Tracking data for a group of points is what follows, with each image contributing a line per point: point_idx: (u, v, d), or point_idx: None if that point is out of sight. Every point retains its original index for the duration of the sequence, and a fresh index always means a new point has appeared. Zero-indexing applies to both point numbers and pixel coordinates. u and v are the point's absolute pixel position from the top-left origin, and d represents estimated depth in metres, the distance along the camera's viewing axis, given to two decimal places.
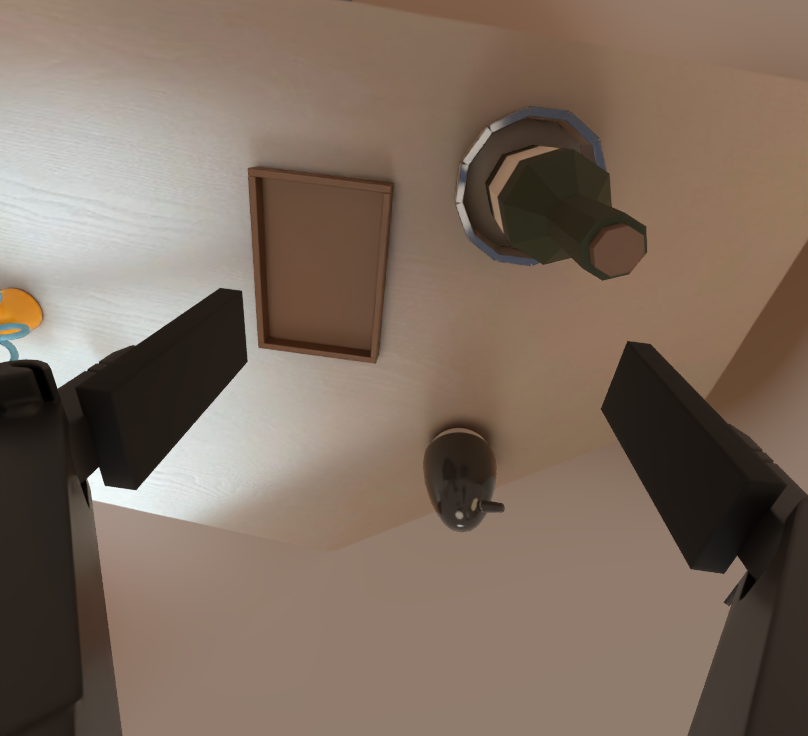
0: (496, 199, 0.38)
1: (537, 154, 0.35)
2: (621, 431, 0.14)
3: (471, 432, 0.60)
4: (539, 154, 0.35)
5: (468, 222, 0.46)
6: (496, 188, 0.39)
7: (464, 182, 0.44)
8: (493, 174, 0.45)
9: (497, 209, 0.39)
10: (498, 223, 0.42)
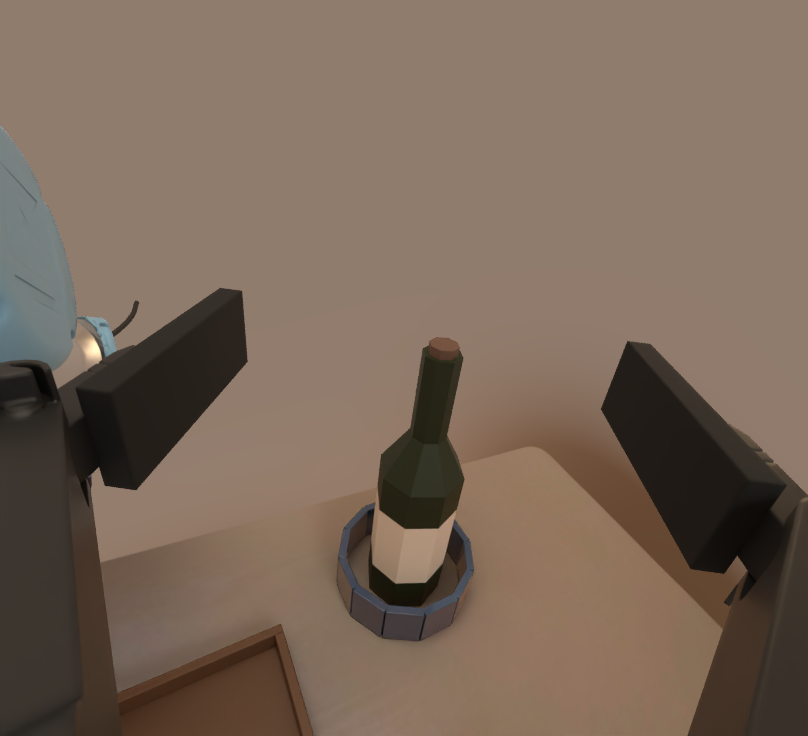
0: (380, 521, 0.42)
1: None
2: (620, 431, 0.14)
3: None
4: None
5: (375, 597, 0.43)
6: (376, 526, 0.44)
7: (350, 570, 0.45)
8: (370, 565, 0.48)
9: (387, 533, 0.42)
10: (398, 556, 0.43)
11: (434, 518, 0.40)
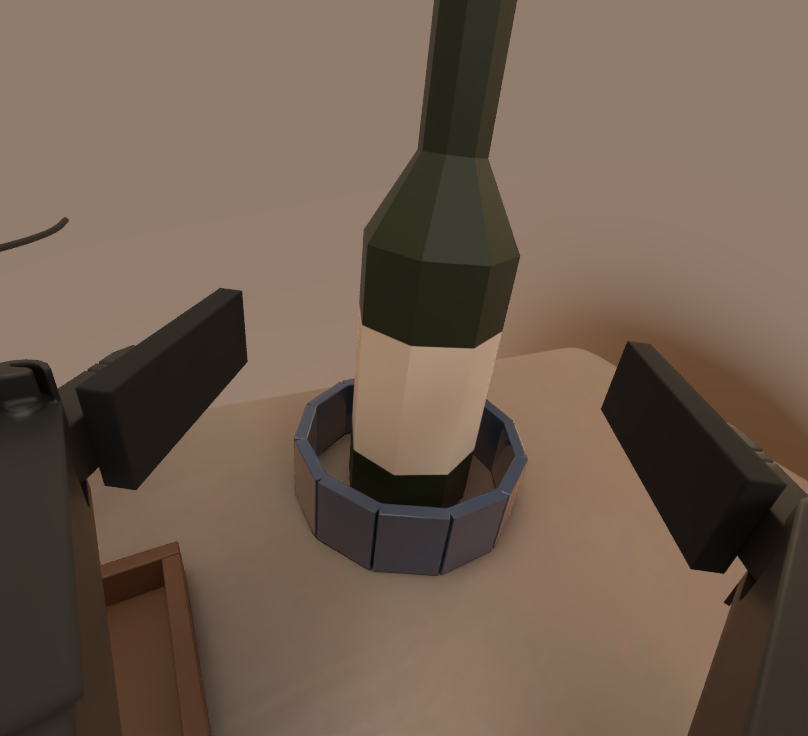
0: (365, 350, 0.23)
1: None
2: (620, 430, 0.14)
3: None
4: None
5: (357, 492, 0.23)
6: (358, 370, 0.24)
7: (313, 455, 0.25)
8: (351, 459, 0.29)
9: (378, 371, 0.23)
10: (398, 415, 0.23)
11: (466, 321, 0.21)
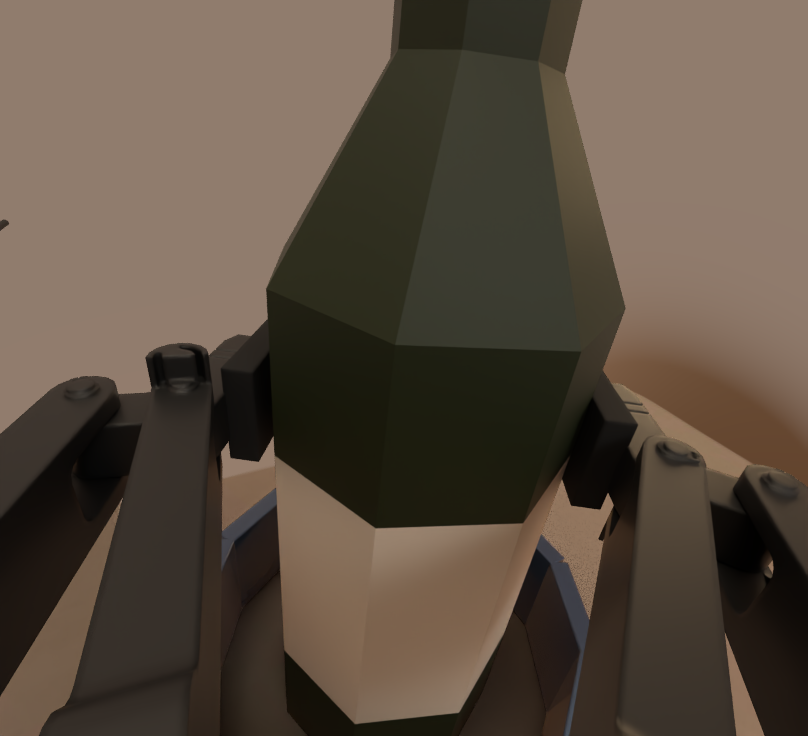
0: (286, 503, 0.11)
1: None
2: None
3: None
4: None
5: None
6: None
7: None
8: None
9: (313, 549, 0.11)
10: (357, 640, 0.11)
11: (510, 472, 0.09)
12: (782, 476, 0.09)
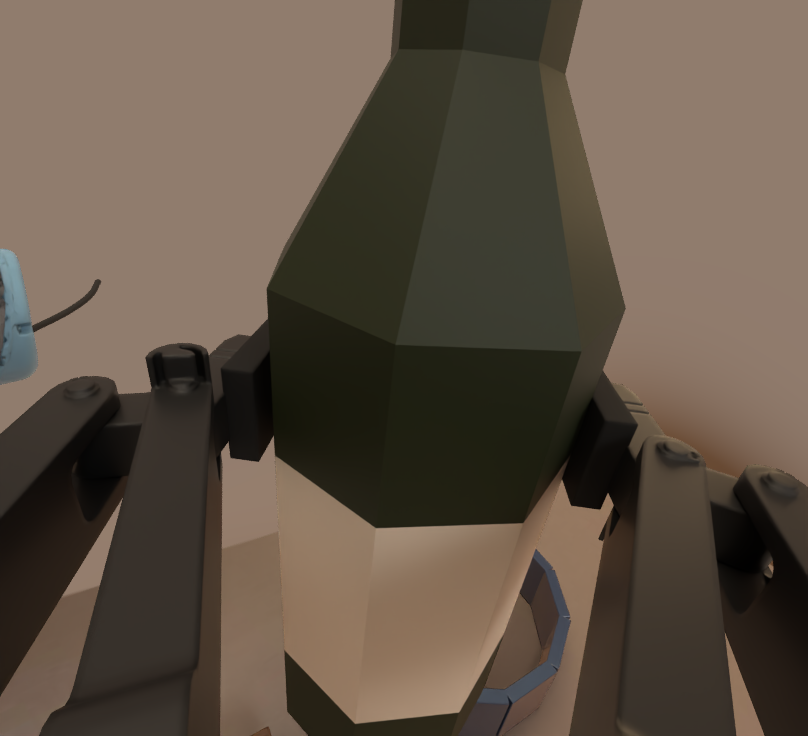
0: (286, 502, 0.11)
1: None
2: None
3: None
4: None
5: None
6: None
7: None
8: None
9: (313, 549, 0.11)
10: (357, 640, 0.11)
11: (511, 473, 0.09)
12: (782, 476, 0.09)
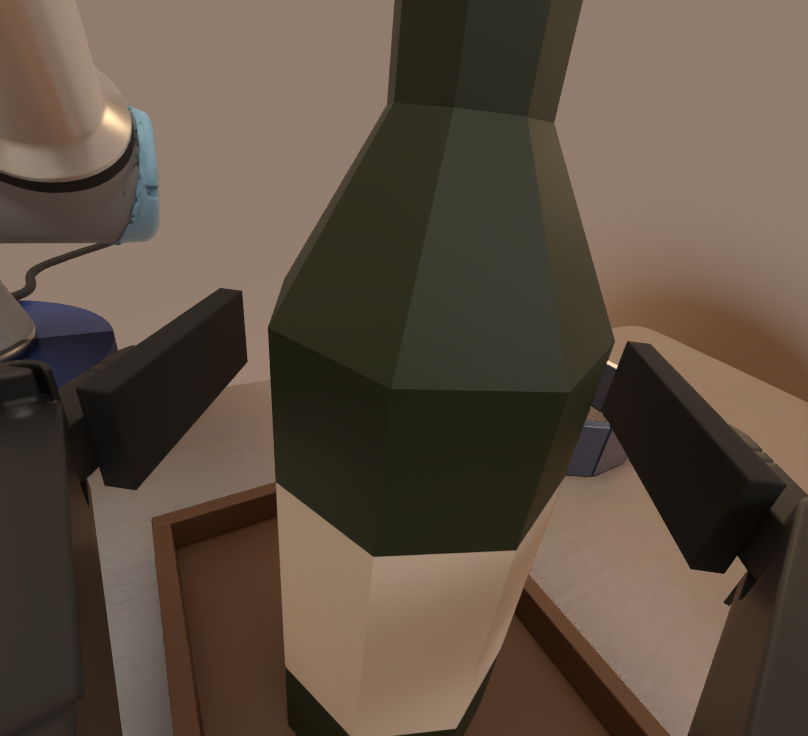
0: (287, 527, 0.11)
1: None
2: (621, 430, 0.14)
3: None
4: None
5: None
6: None
7: None
8: None
9: (313, 572, 0.11)
10: (356, 660, 0.11)
11: (502, 504, 0.09)
12: None
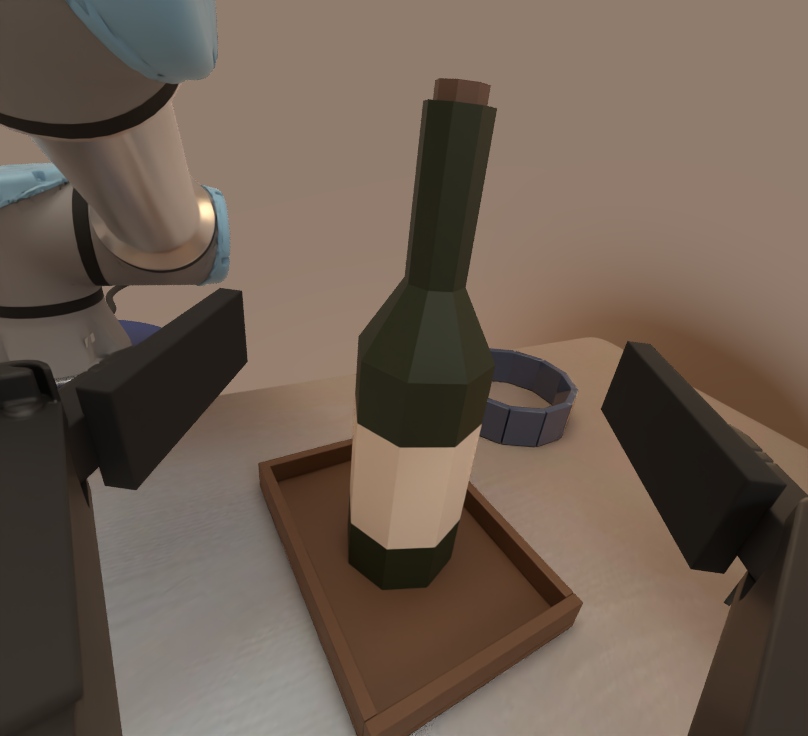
0: (360, 443, 0.26)
1: None
2: (620, 431, 0.14)
3: None
4: None
5: (497, 401, 0.46)
6: (354, 457, 0.27)
7: None
8: (349, 527, 0.32)
9: (372, 462, 0.26)
10: (390, 501, 0.26)
11: (448, 426, 0.24)
12: None
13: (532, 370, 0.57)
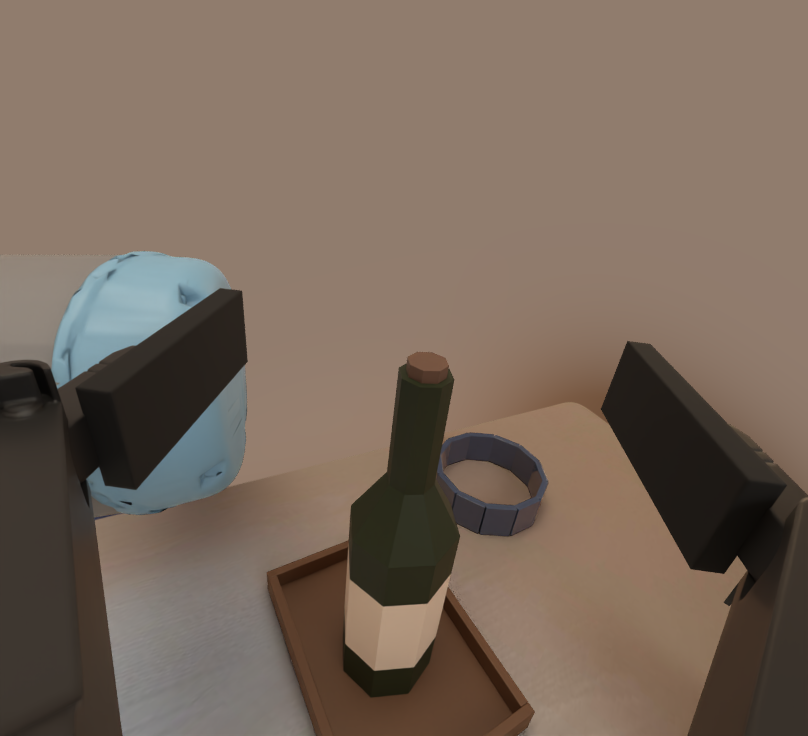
0: (352, 593, 0.32)
1: None
2: (621, 431, 0.14)
3: None
4: None
5: (474, 498, 0.52)
6: None
7: (449, 481, 0.55)
8: None
9: (361, 609, 0.32)
10: (376, 639, 0.33)
11: (421, 591, 0.30)
12: None
13: (510, 454, 0.63)
